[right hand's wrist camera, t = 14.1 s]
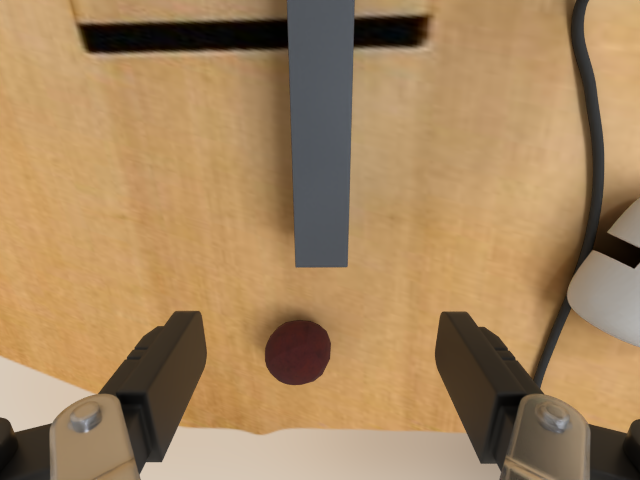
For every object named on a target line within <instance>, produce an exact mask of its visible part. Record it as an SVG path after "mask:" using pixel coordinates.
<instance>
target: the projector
mask: <svg viewBox="0 0 640 480" xmlns="http://www.w3.org/2000/svg"><path fill="white" fill-rule="evenodd" d="M607 233H609V234H611V235H613V236H615V237H617V238H619V239H621V240H624V241H626V242H628V243H630V244H632V245H634V246H636V247H638V248H640V197H639V198H638V199H637V200H636V201H635V202H634V203H632V204H631V205H630V206H629V207H628V208H627V209H626V211H625V212H624V213H623V214H622V215H621V216H620V217H619V218H618V219H617V221H616V222H615V223H614V224H613V225H612V227H611V228H610V229H609V230H608V232H607ZM567 299H568V302H569V304H570V306H571V308H572V309H573V310H574V311H575V312H576V313H577V314H578V315H579V316H580V317H582V318H583V319H584V320H586V321H587V322H589V323H590V324H592V325H593V326H595V327H597V328H598V329H600V330H602V331H604V332H605V333H607V334H609V335H611V336H613V337H615V338H617V339H620V340H622V341H624V342H627V343H629V344H632V345H634V346H638V347H640V263H639V264H638V265H637V267H636V268H635V269H634V268H632V267H629V266H627V265H625V264H623V263H621V262H619V261H617V260H615V259H613V258H610V257H608V256H606V255H604V254H602V253H599V252H597V251H594V250H592V252H591V253H590V254H589V255H588V257H587V258H586V259H585V260H584V262H583V263H582V265H581V266H580V267H579V269H578V270H577V272H576V273H575V275H574V276H573V278H572V280H571V282H570V284H569V287H568V292H567Z"/></svg>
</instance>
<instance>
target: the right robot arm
mask: <svg viewBox="0 0 640 480" xmlns="http://www.w3.org/2000/svg"><path fill="white" fill-rule="evenodd" d="M588 1H589V0H576V3H575V6H574V10H573V16H572V25H571V36H572V44H573V49H574V53H575V57H576V60H577V63H578V67H579V70H580V73H581V77H582V81H583V86H584V92H585V99H586V106H587V112H588V119H589V125H590V132H591V140H592V151H593V188H592V200H591V208H590V214H589V220H588V225H587V230H586V235H585V239H584V243H583V247H582V250H581V254H580V257H579V260H578V263H577V266H576V269H575V272H574V275H575V273H576V272H577V270H578V269H579V267H580V266H581V265H582V263H583V262H584V260H585V259H586V258H587V257H588V255H589V254H590V253H591V252H592V249H593V245H594V241H595V237H596V232H597V228H598V223H599V218H600V212H601V205H602V198H603V186H604V143H603V133H602V125H601V118H600V111H599V104H598V97H597V89H596V82H595V77H594V73H593V69H592V65H591V62H590V59H589V55H588V52H587V48H586V44H585V38H584V15H585V10H586V6H587V3H588ZM574 275H573V276H574ZM570 310H571V306H570V304H569V302H568V299H567V294H566V297H565V299H564V302H563V304H562V307H561V309H560V311H559V314H558V316H557V319H556V321H555V323H554V326H553V328H552V331H551V333H550V336H549V338H548V341H547V344H546V346H545V349H544V351H543V354H542V357H541V359H540V362H539V365H538V368H537V371H536V374H535V377H534V381H533V380H532V378H531V377H530V376H529V374H528V373H527V372H526V371H525V369H524V368H523V367H522V366H521V364H520V363H519V362H518V361H516V360H515V357H514V356H513V354H512V353H511V352H510V351H508V348H507V347H506V346H505V344H504V343H503V342H502V341H501V339H500V338H499V337H498V336H497V335H495V334H494V333H492V332H491V331H489V330H488V329H486V328H485V327H478V326H477V325H476V323H475V322H474V320H473V319H472V318H471V316H470V315H469V314H468V313H467V312H442V313H441V315H440V320H439V327H438V334H437V341H436V348H435V360H436V365H437V369H438V371H439V373H440V376H441V378H442V380H443V382H444V384H445V386H446V389H447V391H448V393H449V395H450V397H451V400H452V402H453V404H454V406H455V408H456V410H457V413H458V415H459V417H460V419H461V421H462V424H463V426H464V428H465V430H466V432H467V434H468V436H469V439H470V441H471V443H472V445H473V447H474V450H475V452H476V454H477V456H478V458H479V461H480V463H481V464H489V463H490V464H495V463H496V464H498V466H499V468H500V470H501V475H500V479H499V480H640V419H638V420H635V421H633V423H632V424H631V426H630V428H629V431H628V433H623V432H619V431H615V430H611V429H607V428H602V427H598V426H594V425H591V424H588V423H587V421H586V420H585V418H584V417H583V416H582V415H581V414H580V413H579V412H578V411H577V410H576V409H574V408H573V407H572V406H570V405H569V404H567V403H565V402H563V401H561V400H559V399H557V398H554V397H552V396H548V395H544V393H543V392H542V391H541V390H540V387H541V384H542V380H543V377H544V374H545V371H546V368H547V365H548V363H549V360H550V358H551V355H552V353H553V350H554V348H555V345H556V343H557V340H558V338H559V335H560V333H561V330H562V328H563V326H564V323H565V321H566V319H567V316H568V314H569V312H570ZM206 357H207V349H206V342H205V335H204V328H203V321H202V315H201V313H200V312H199V311H175V312H174V313H173V314H172V316H171V317H170V319H169V320H168V321H167V323H166V324H165V325H164V326H158V327H156V328H155V329H153V330H152V331H150V332H149V333H147V334H146V335H145V336H143V338H142V339H141V340H140V341H139V343H138V344H137V345H136V347H135V349H134V350H132V352H131V353H130V354H129V355H128V357H127V360H124V362H123V363H122V364H121V365H120V367H119V368H118V369H117V371H116V372H115V373H114V374H113V376H112V377H111V378H110V379H109V381H108V382H107V383H106V384H105V386H104V387H103V388H102V390H101V391H100V392H99V393H98V394H96V395H92V396H88V397H86V398H83V399H81V400H79V401H77V402H75V403H73V404H71V405H70V406H69V407H67V408H66V409H64V410H63V411H62V412H61V413H60V414H59V415H58V416H57V417H56V419H55V420H54V421H53V423H51V424H48V425H43V426H39V427H35V428H31V429H27V430H23V431H19V432H15V433H14V431H13V428H12V426H11V424H10V422H9V421H8V420H7V419H5V418H0V480H141V479H140V473H141V471H142V469H143V467H144V465H145V463H146V462H162V460H163V458H164V456H165V454H166V452H167V449H168V447H169V445H170V443H171V441H172V438H173V436H174V434H175V432H176V430H177V427H178V425H179V423H180V421H181V419H182V416H183V414H184V412H185V410H186V407H187V405H188V403H189V401H190V399H191V396H192V394H193V392H194V390H195V388H196V385H197V383H198V381H199V379H200V377H201V374H202V372H203V370H204V367H205V364H206Z"/></svg>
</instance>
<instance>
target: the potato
mask: <svg viewBox="0 0 640 480" xmlns="http://www.w3.org/2000/svg"><path fill="white" fill-rule="evenodd" d="M330 349H331V342H330V339H329V337H328V334H327V331H326V330H324V329H323V328H322V327H321V326H320V325H318V324H316V323H313V322H311V321H301V320H296V321H291V322H286V323H284V324H283V325H281V326H280V327H278V328H277V329H276V330H275V332H274V333H273V334H272V335H271V336H270V338H269V340H268V343H267V345H266V348H265V362H266V366H267V368H268V370H269V371H270V373H271V374H272V375H273V376H274V377H275V378H276V379H277V380H279V381H280V382H282V383H285V384H289V385H302V384H305V383H309V382H313V381H315V380H316V379H317V378H318V377H320V376H321V375H322V374H323V372H324V370H325V368H326V366H327V364H328V362H329V360H330Z"/></svg>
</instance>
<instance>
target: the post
mask: <svg viewBox="0 0 640 480" xmlns="http://www.w3.org/2000/svg"><path fill="white" fill-rule="evenodd" d="M354 6H355V0H287V19H288V50H289V81H290V111H291V142H292V173H293V204H294V235H295V265H296V267H348V231H349V194H350V156H351V119H352V81H353V43H354Z"/></svg>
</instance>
